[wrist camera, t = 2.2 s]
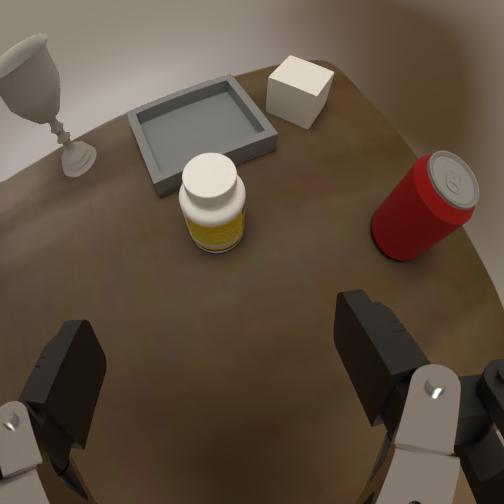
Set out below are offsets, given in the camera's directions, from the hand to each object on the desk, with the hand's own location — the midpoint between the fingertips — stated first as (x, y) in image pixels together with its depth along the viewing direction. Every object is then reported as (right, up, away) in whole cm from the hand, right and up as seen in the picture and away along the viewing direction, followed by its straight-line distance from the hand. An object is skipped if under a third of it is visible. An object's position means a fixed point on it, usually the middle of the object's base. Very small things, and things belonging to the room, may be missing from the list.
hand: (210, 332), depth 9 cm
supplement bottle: (-2, +5, +22) cm, 22 cm away
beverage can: (+17, +4, +22) cm, 28 cm away
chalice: (-21, +14, +24) cm, 35 cm away
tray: (-5, +16, +25) cm, 30 cm away
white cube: (+7, +21, +28) cm, 36 cm away
